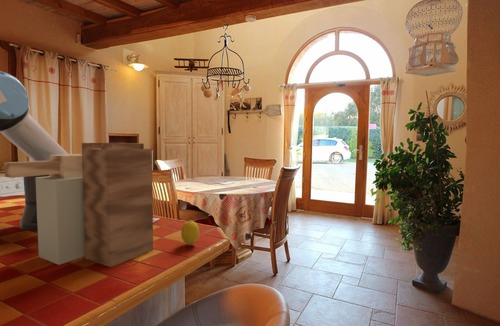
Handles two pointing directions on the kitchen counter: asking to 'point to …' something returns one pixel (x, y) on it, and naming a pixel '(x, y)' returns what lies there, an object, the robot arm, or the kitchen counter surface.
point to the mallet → (47, 167)
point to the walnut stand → (117, 201)
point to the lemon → (190, 232)
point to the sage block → (60, 219)
